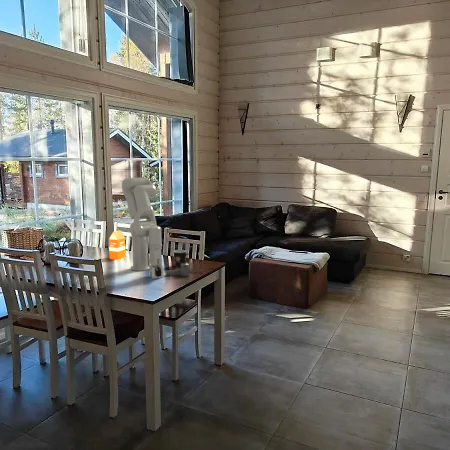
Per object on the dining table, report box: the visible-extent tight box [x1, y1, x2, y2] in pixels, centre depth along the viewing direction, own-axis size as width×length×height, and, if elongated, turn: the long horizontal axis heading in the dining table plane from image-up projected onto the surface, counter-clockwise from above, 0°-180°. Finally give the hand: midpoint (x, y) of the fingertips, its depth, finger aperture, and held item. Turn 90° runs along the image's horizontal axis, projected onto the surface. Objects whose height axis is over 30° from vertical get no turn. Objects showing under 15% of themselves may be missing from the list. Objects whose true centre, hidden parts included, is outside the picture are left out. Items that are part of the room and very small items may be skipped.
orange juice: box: [108, 229, 126, 261], centre depth 296 cm, size 8×9×20 cm
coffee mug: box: [173, 249, 192, 268], centre depth 274 cm, size 12×9×10 cm
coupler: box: [165, 262, 190, 277], centre depth 254 cm, size 7×14×7 cm, turn 95°
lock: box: [148, 264, 165, 280], centre depth 249 cm, size 6×7×8 cm
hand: (156, 274), depth 250 cm, fingers open, 7 cm apart
